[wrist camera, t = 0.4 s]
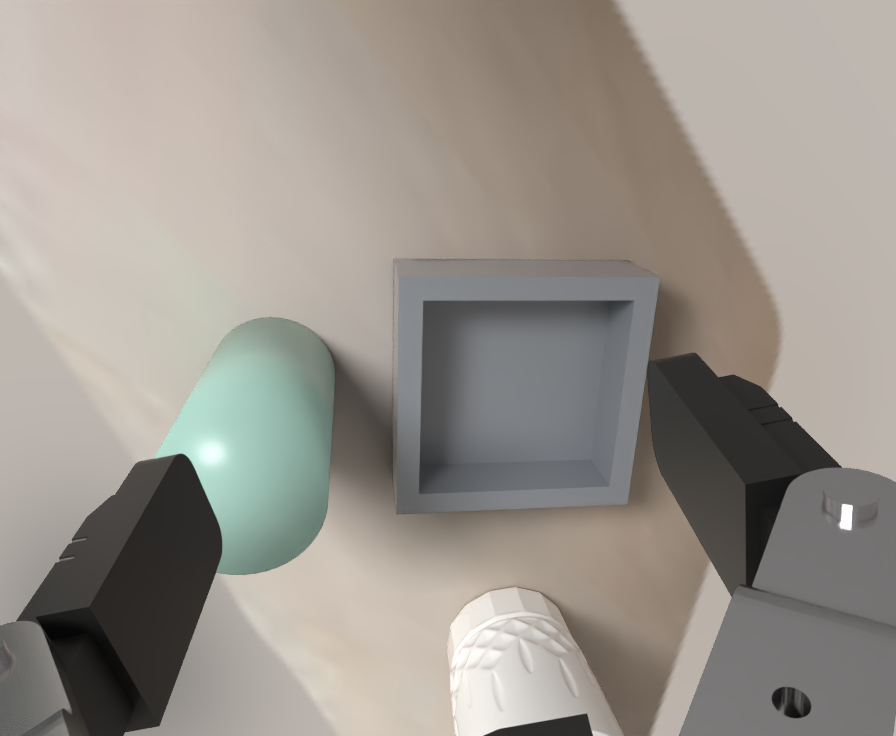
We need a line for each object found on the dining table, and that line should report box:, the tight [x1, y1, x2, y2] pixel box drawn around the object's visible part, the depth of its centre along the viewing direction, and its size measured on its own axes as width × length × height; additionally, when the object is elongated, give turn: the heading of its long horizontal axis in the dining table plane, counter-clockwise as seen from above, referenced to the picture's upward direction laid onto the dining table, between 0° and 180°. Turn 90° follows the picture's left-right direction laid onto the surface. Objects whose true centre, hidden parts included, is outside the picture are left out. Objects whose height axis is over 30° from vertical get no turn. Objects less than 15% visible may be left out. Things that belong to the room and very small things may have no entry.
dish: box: [392, 259, 660, 514], centre depth 31 cm, size 11×11×4 cm
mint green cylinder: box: [154, 317, 335, 575], centre depth 26 cm, size 6×6×11 cm
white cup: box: [447, 587, 624, 736], centre depth 34 cm, size 8×8×10 cm
